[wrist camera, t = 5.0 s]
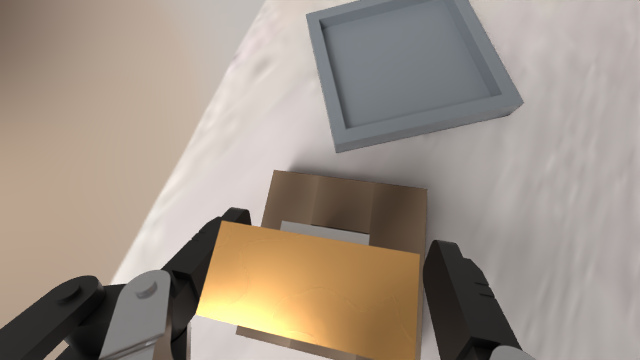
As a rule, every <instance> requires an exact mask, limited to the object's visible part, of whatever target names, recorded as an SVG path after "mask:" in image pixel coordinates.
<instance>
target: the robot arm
mask: <svg viewBox="0 0 640 360" xmlns="http://www.w3.org/2000/svg"><path fill="white" fill-rule="evenodd" d="M222 221H228V222H233V223H239V224H245V225H251V219H250V213H249V211H248V210H247V209H240V208H234V207H231V208H229V209H228V210H227V211H226V212H225V214H224V215H223V216H222V217H219V216H218V217H216V218H215V219H213V220H211V221H209V222H208V223H206V224H205V225H204V226H203V227H202V228H201V229H200V230H199V233H197V234H196V235H195V236H194V237H193V238H192V240H190V241H189V242H188V243H187V244H186V245H185V246H184V247H183V248H182V249H181V250H180V251H179V252H178V253H177V254H176V255H175V256H174V257H173V258H172V259H171V260H170V261H169V262H168V263H167V264H166V265H165V266H164V267H163V268H162V269H160V270H152V271H148V272H146V273H143V274H141V275H139V276H137V277H136V278H134V279H133V280H131V281H130V282H129V283H128V284H118V285H108V286H102V285H101V283H100V282H99V280H98V279H97V278H96V277H95V276H80V277H77V278H74V279H71V280H68V281H67V282H64V283H62V284H60V285H59V286H57V287H55V288H54V289H52V290H51V291H50V292H48V293H47V294H46V295H45V296H43V297H42V298H40V299H39V300H38V301H37V302H35V303H34V304H33V305H32V306H30V307H29V308H27V309H26V310H25V311H24V312H22V313H21V314H20V315H19V316H17V317H16V318H15V319H13V320H12V321H11V322H9V323H8V324H7V325H5V326H4V327H3V328H1V329H0V360H43V359H44V358H45V357H46V356H47V355H48V354H49V353H50V352H51V351H52V350H53V349H54V348H55V347H56V346H57V345H58V344H60V343H61V342H62V341H63V340H65V341H66V343H67V344H69V346H68V347H67V348H66V349H65V350H64V351H63V352H62V353H61V354H60V355H59V356H58V357H57V358H56V359H55V360H190V354H191V322H190V320H191V319H192V318H193V316H194V315H195V313H196V312H197V308H198V304H199V301H200V297H201V294H202V290H203V287H204V283H205V279H206V276H207V272H208V269H209V265H210V262H211V258H212V254H213V251H214V247H215V244H216V240H217V237H218V233H219V229H220V226H221V222H222ZM251 226H252V225H251ZM423 283H424V288H425V292H426V297H427V301H428V306H429V310H430V314H431V319H432V323H433V328H434V332H435V337H436V341H437V346H438V350H439V355H440V359H441V360H535V359H534V358H533V357H531V356H530V355H528V354H527V353H525V352H523V350H522V348H521V347H520V345H519V343H518V341H517V339H516V337H515V335H514V333H513V331H512V329H511V327H510V325H509V323H508V321H507V319H506V317H505V316H504V314H503V312H502V310H501V308H500V306H499V304H498V302H497V300H496V299H495V298H494V297H495V296H494V294H493V292H492V290H491V288H490V287H489V284H488V282H487V280H486V278H485V276H484V274H483V272H482V271H481V270H480V269H479V268H478V267H477V266H476V265H475V263H474V262H473V261H472V260H471V259H467V258H463V256H462V254H461V252H460V249H459V247H458V245H457V244H456V243H452V242H446V241H440V240H434V241H433V242H432V244H431V247H430V250H429V252H428V255H427V258H426V260H425V263H424V266H423Z"/></svg>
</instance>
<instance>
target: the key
mask: <svg viewBox="0 0 640 360" xmlns="http://www.w3.org/2000/svg"><path fill="white" fill-rule="evenodd" d="M369 236H370V235H367V234H361V233H355V232H349V231H343V230H336V229H330V228H324V227H318V226H312V225H306V224H300V223H293V222H287V221H282V223H281V228H280V230H275V229H269V228H263V227H257V226H251V225H245V224H239V223H233V222H228V221H222V222H221V226H220V229H219V233H218V237H217V240H216V244H215V247H214V251H213V254H212V258H211V262H210V265H209V269H208V272H207V276H206V279H205V283H204V287H203V290H202V294H201V297H200V301H199V304H198V308H197V312H196V315H200V316H204V317H208V318H212V319H216V320H220V321H224V322H228V323H232V324H236V325H240V326H244V327H248V328H252V329H256V330H260V331H264V332H268V333H272V334H276V335H280V336H284V337H288V338H292V339H296V340H300V341H304V342H308V343H312V344H316V345H320V346H324V347H328V348H332V349H336V350H340V351H344V352H348V353H352V354H356V355H360V356H364V357H368V358H372V359H376V360H415V348H416V327H417V305H418V284H419V262H420V254H415V253H410V252H404V251H398V250H392V249H386V248H380V247H374V246H369Z"/></svg>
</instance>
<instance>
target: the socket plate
mask: <svg viewBox="0 0 640 360" xmlns="http://www.w3.org/2000/svg"><path fill="white" fill-rule="evenodd" d="M426 211H427V189H423V188H415V187H407V186H399V185H391V184H383V183H375V182H367V181H359V180H351V179H343V178H334V177H326V176H318V175H310V174H302V173H294V172H286V171H278V170H274V172H273V176H272V180H271V185H270V189H269V193H268V198H267V202H266V206H265V210H264V215H263V219H262V223H261V227H263V228H269V229H275V230H280V228H281V223H282V221H287V222H293V223H300V224H306V225H312V226H318V227H324V228H330V229H336V230H343V231H349V232H355V233H361V234H367V235H370V236H369V246H374V247H380V248H386V249H392V250H398V251H404V252H410V253H415V254H420V262H419V284H418V305H417V327H416V348H415V360H420V356H421V332H422V308H423V284H424V283H423V266H424V260H425V235H426ZM236 334H237V335H241V336H245V337H248V338H252V339H256V340H260V341H264V342H268V343H272V344H276V345H279V346H283V347H287V348H291V349H295V350H299V351H303V352H307V353H310V354H314V355H318V356H322V357H326V358H330V359H334V360H376V359H372V358H368V357H364V356H360V355H356V354H352V353H348V352H344V351H340V350H336V349H332V348H328V347H324V346H320V345H316V344H312V343H308V342H304V341H300V340H296V339H292V338H288V337H284V336H280V335H276V334H272V333H268V332H264V331H260V330H256V329H252V328H248V327H244V326H240V325H238V326H237V331H236Z"/></svg>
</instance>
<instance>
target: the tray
mask: <svg viewBox="0 0 640 360" xmlns="http://www.w3.org/2000/svg"><path fill="white" fill-rule="evenodd" d="M306 18H307V24H308V29H309V34H310V38H311V43H312V47H313V52H314V56H315V60H316V65H317V69H318V74H319V78H320V83H321V87H322V92H323V96H324V101H325V105H326V110H327V114H328V119H329V123H330V128H331V132H332V136H333V141H334V145H335V150H336V153H339V152H344V151H348V150H353V149H357V148H362V147H367V146H371V145H376V144H380V143H385V142H389V141H394V140H398V139H403V138H408V137H412V136H417V135H421V134H426V133H430V132H435V131H440V130H444V129H449V128H453V127H458V126H462V125H467V124H471V123H476V122H481V121H485V120H490V119H494V118H499V117H503V116H508V115H510V114H511V113H512V112H513V111H515V110H516V109H517V108H518V107H520V106H521V105H522V104H523V103H524V102H523V100H522V98H521V97H520V95H519V93H518V91H517V89H516V87H515V86H514V84H513V82H512V80H511V78H510V76H509V74H508V73H507V71H506V69H505V67H504V65H503V63H502V62H501V60H500V58H499V56H498V54H497V52H496V51H495V49H494V47H493V45H492V43H491V41H490V40H489V38H488V36H487V34H486V32H485V30H484V29H483V27H482V25H481V23H480V21H479V19H478V18H477V16H476V14H475V12H474V10H473V8H472V7H471V5H470V3H469V1H468V0H359V1H355V2H351V3H347V4H343V5H339V6H336V7H332V8H328V9H324V10H320V11H317V12H313V13H309V14H306Z"/></svg>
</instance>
